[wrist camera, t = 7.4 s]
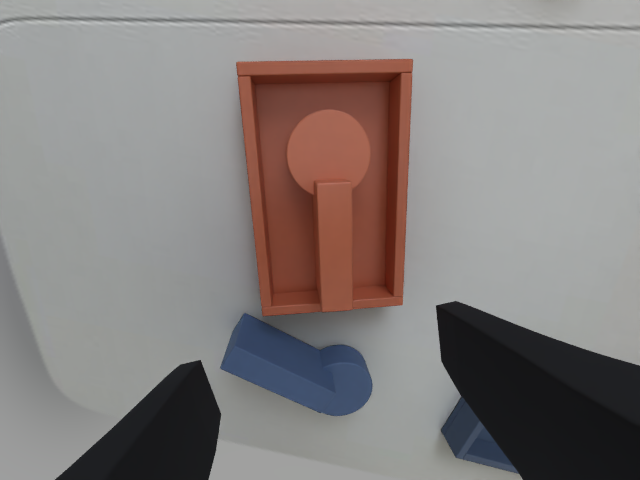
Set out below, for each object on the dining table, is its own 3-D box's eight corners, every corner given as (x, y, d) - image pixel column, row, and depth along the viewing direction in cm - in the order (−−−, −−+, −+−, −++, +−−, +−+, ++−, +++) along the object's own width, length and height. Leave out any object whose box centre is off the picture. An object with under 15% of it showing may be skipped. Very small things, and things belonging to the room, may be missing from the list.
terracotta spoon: (362, 281, 16) (377, 308, 13) (295, 286, 16) (296, 315, 13) (362, 113, 14) (381, 101, 11) (284, 115, 13) (281, 104, 10)
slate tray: (440, 430, 20) (455, 457, 18) (485, 358, 19) (506, 380, 17) (694, 499, 24) (726, 527, 23) (744, 446, 23) (783, 470, 21)
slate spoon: (222, 346, 17) (208, 386, 14) (254, 296, 16) (246, 327, 13) (344, 402, 19) (354, 448, 16) (377, 360, 18) (393, 399, 15)
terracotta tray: (390, 289, 17) (402, 305, 15) (265, 298, 16) (262, 317, 14) (397, 71, 14) (413, 58, 12) (243, 74, 13) (235, 61, 11)
